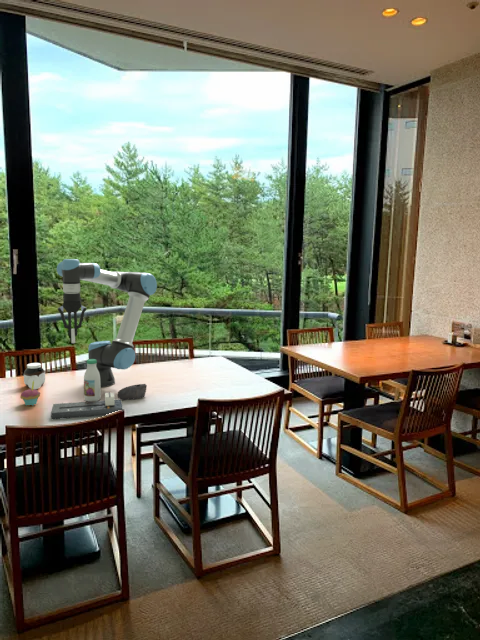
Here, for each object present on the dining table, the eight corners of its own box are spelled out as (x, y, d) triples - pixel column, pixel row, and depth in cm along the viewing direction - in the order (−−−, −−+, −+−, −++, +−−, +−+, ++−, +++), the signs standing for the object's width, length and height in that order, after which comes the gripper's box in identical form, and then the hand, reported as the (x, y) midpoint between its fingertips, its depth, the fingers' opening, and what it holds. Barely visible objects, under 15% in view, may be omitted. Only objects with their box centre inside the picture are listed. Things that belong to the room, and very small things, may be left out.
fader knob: (105, 401, 222) (104, 392, 221) (114, 400, 223) (113, 392, 222) (105, 405, 216) (105, 396, 216) (114, 405, 217) (114, 396, 217)
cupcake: (43, 401, 230) (42, 377, 229) (36, 407, 222) (35, 382, 220) (25, 401, 230) (23, 377, 228) (17, 407, 222) (16, 382, 220)
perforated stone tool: (118, 402, 232) (118, 388, 231) (116, 399, 237) (116, 385, 236) (148, 398, 239) (148, 385, 237) (146, 395, 243) (146, 382, 242)
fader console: (53, 410, 219) (53, 403, 218) (121, 405, 227) (121, 399, 227) (51, 419, 207) (51, 412, 207) (122, 414, 216) (122, 407, 216)
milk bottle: (94, 395, 240) (93, 357, 237) (104, 399, 236) (103, 359, 232) (81, 399, 234) (80, 359, 231) (90, 403, 230) (89, 362, 227)
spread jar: (38, 382, 261) (37, 361, 259) (52, 385, 255) (51, 364, 254) (18, 387, 251) (17, 366, 249) (32, 391, 245) (31, 369, 243)
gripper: (56, 293, 216) (57, 344, 220) (86, 293, 220) (87, 343, 224) (57, 291, 223) (59, 341, 227) (86, 291, 227) (87, 340, 231)
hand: (73, 342), depth 225 cm, fingers closed
